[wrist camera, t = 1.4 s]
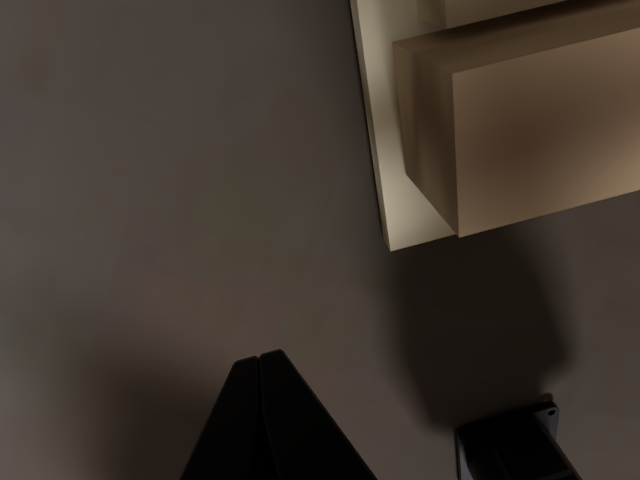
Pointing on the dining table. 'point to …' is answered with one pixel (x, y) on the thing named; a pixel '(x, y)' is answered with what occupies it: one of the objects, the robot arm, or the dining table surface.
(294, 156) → the dining table surface
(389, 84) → the gauge bed
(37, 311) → the dining table surface
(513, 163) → the wooden slider block
